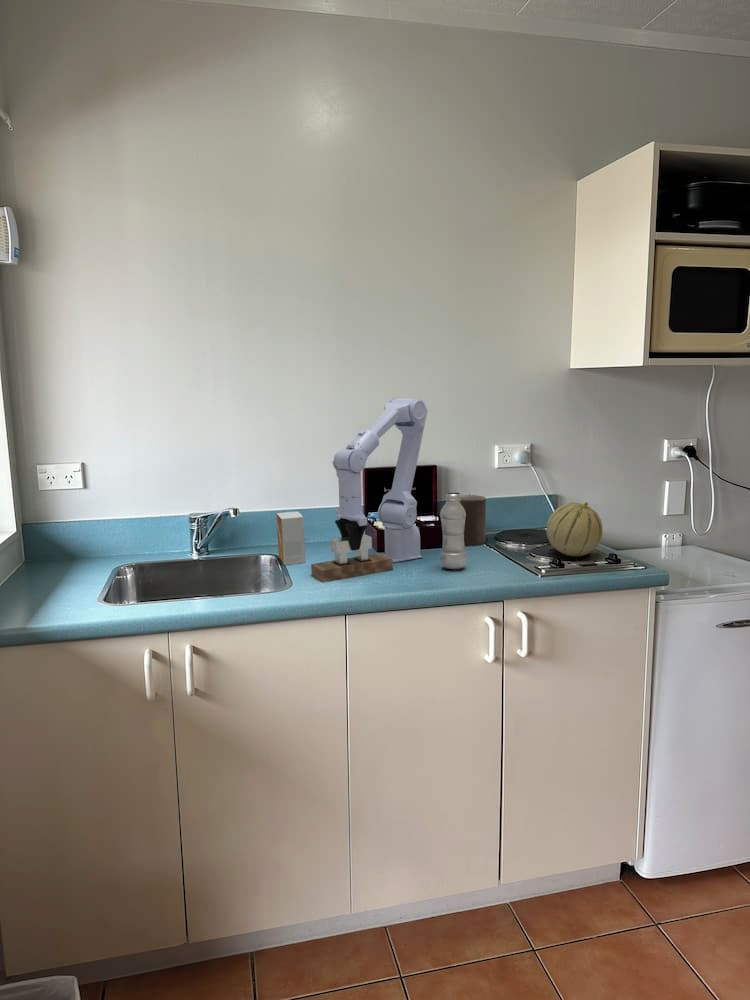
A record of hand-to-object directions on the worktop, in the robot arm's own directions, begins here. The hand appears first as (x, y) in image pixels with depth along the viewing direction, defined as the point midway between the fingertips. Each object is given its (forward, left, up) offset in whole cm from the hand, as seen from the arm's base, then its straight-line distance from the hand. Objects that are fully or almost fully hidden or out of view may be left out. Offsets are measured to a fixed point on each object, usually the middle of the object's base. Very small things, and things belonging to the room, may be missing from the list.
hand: (351, 548), depth 181 cm
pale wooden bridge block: (0, 0, -3) cm, 3 cm away
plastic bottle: (-24, +11, -7) cm, 27 cm away
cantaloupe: (-59, +18, -7) cm, 62 cm away
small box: (+9, -20, -7) cm, 23 cm away
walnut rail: (0, 0, -6) cm, 6 cm away
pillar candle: (-44, -10, -7) cm, 46 cm away
